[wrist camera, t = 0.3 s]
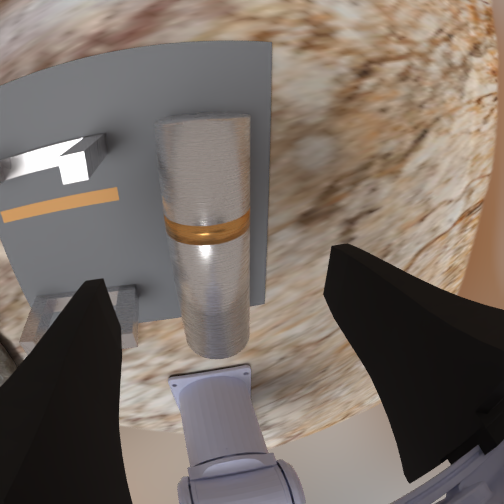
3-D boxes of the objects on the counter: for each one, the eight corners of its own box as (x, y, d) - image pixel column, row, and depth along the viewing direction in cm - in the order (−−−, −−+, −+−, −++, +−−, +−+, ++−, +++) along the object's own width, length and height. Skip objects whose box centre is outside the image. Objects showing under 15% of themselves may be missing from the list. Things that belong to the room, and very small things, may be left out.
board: (262, 298, 23) (264, 304, 23) (46, 326, 19) (44, 332, 19) (268, 43, 14) (272, 42, 13) (-26, 99, 10) (-31, 100, 9)
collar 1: (108, 153, 14) (88, 179, 11) (-6, 181, 12) (-43, 213, 9) (105, 132, 14) (83, 151, 10) (-10, 163, 12) (-50, 191, 8)
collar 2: (139, 297, 20) (138, 346, 16) (42, 308, 18) (27, 354, 14) (135, 284, 19) (132, 333, 15) (36, 296, 17) (19, 342, 14)
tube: (241, 307, 22) (257, 352, 19) (183, 316, 22) (189, 364, 18) (239, 110, 15) (262, 121, 11) (155, 117, 14) (150, 129, 10)
